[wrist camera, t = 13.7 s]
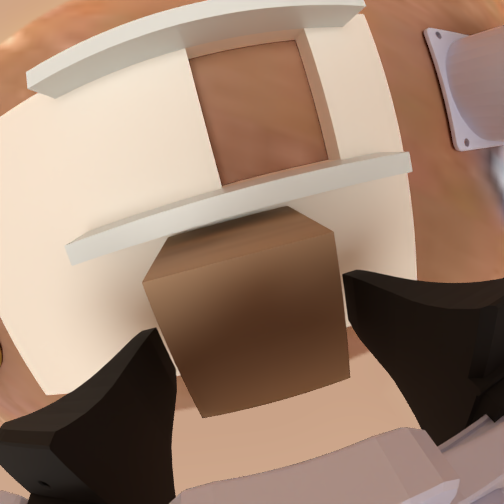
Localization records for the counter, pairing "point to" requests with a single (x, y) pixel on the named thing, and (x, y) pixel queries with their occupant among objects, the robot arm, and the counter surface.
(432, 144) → the counter surface
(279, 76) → the counter surface
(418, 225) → the counter surface
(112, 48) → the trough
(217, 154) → the counter surface
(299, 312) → the walnut block
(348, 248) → the board
